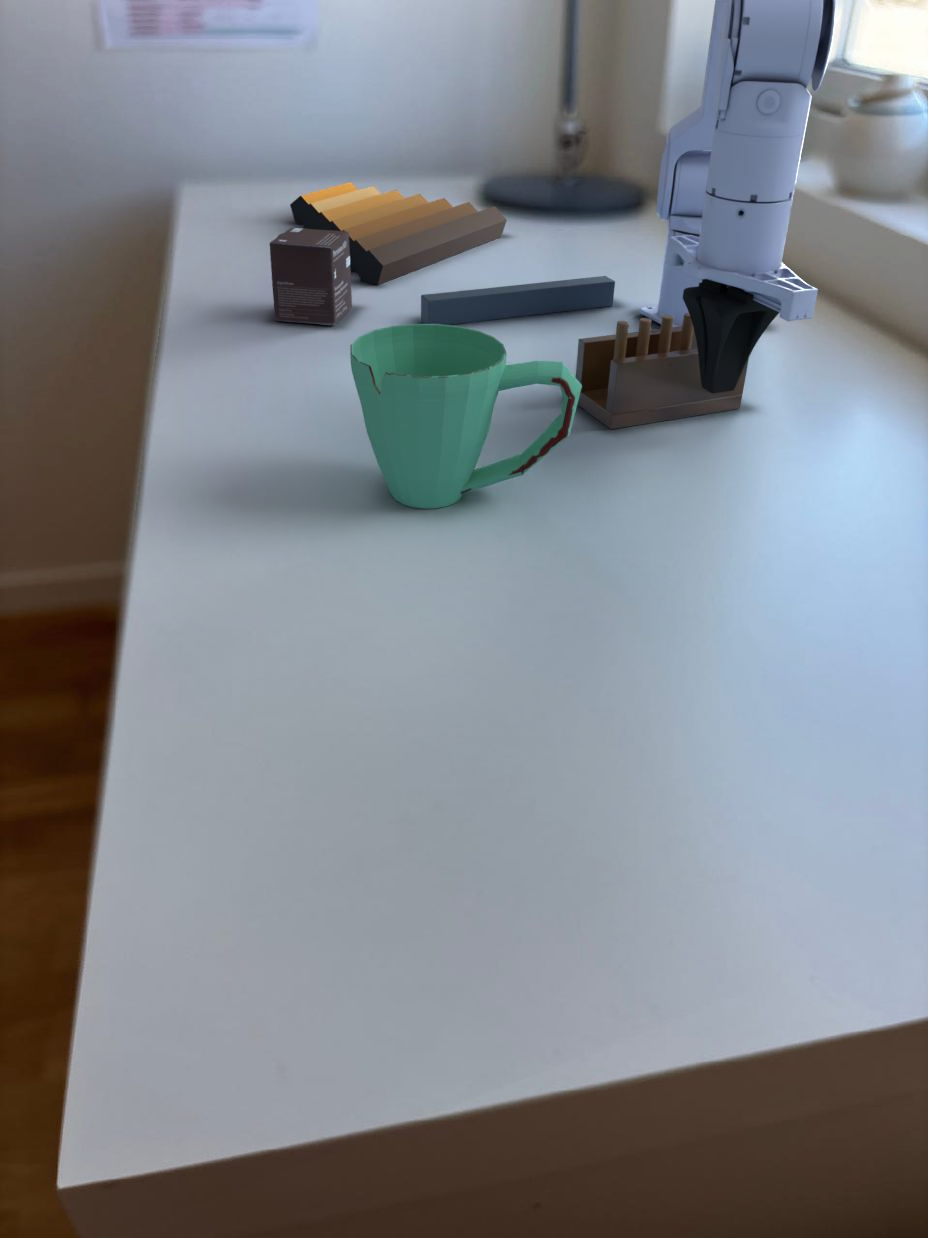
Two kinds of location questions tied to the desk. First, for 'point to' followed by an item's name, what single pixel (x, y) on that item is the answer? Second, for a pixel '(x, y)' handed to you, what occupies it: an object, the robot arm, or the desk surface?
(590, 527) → the desk surface
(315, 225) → the ridged wooden panel
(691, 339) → the rack
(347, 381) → the desk surface
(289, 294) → the box
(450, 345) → the mug
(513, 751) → the desk surface
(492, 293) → the rail
